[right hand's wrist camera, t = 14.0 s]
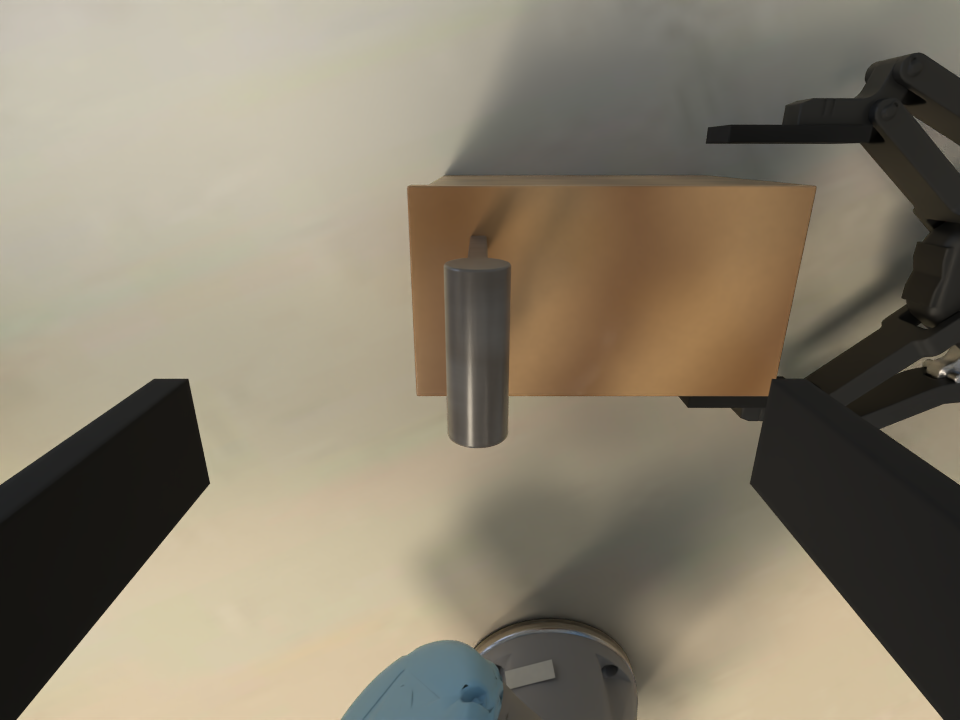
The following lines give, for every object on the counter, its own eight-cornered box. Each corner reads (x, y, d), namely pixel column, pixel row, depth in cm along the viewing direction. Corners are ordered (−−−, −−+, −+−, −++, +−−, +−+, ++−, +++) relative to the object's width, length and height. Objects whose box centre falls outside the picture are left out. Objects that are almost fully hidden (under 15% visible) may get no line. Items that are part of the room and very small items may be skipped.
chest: (446, 324, 36) (434, 388, 26) (443, 175, 33) (427, 184, 23) (686, 324, 36) (763, 388, 26) (707, 175, 33) (804, 184, 23)
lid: (418, 388, 26) (389, 497, 18) (409, 184, 23) (368, 202, 15) (763, 389, 26) (895, 497, 18) (805, 184, 23) (990, 202, 15)
